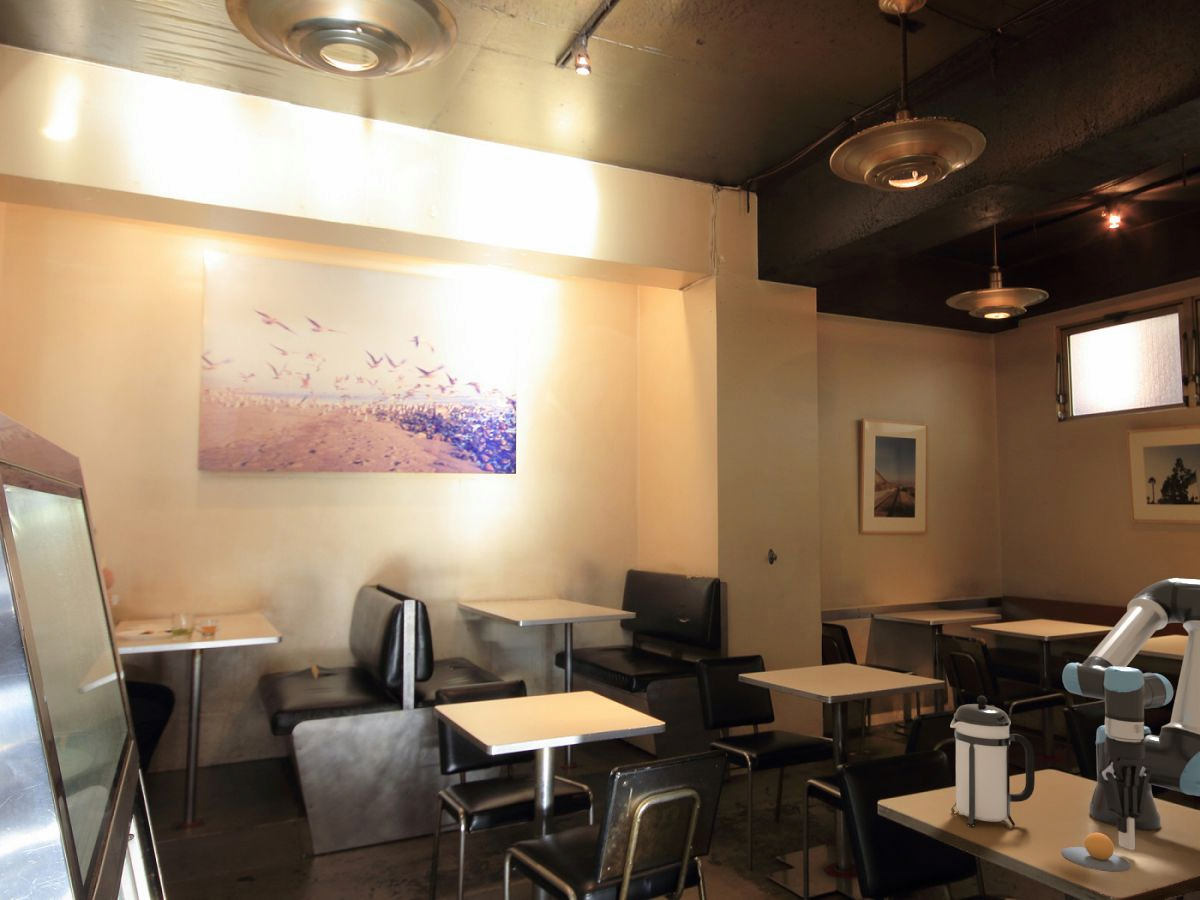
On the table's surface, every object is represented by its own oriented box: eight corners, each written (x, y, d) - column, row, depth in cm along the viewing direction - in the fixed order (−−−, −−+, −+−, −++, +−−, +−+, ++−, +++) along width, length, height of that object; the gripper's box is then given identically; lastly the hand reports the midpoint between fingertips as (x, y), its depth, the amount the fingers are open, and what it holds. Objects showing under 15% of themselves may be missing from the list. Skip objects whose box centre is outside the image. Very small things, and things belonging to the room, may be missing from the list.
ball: (1074, 843, 186) (1088, 860, 186) (1096, 852, 180) (1111, 869, 181) (1087, 823, 187) (1101, 840, 188) (1109, 832, 182) (1123, 848, 183)
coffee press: (1003, 837, 195) (1002, 705, 198) (938, 817, 208) (938, 693, 210) (1036, 822, 206) (1035, 698, 209) (972, 804, 219) (972, 687, 221)
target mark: (1093, 845, 192) (1093, 844, 192) (1145, 868, 180) (1145, 867, 180) (1047, 850, 188) (1047, 849, 188) (1098, 873, 176) (1098, 872, 176)
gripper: (1117, 743, 183) (1119, 855, 181) (1162, 741, 187) (1164, 851, 185) (1087, 735, 191) (1089, 843, 188) (1131, 732, 194) (1133, 838, 192)
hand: (1126, 846), depth 187 cm, fingers closed
